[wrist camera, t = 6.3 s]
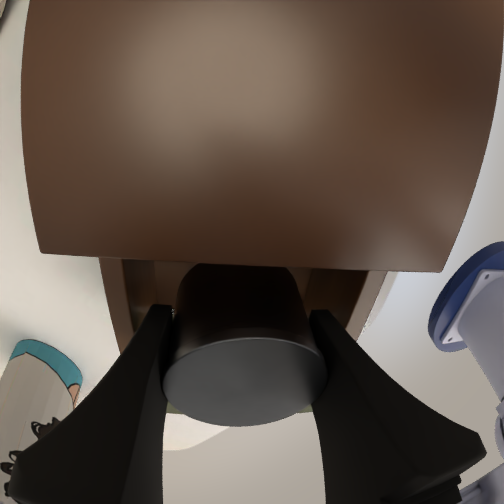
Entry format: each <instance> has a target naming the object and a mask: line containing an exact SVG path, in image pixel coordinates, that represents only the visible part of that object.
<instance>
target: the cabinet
mask: <svg viewBox="0 0 504 504" xmlns="http://www.w3.org/2000/svg"><path fill="white" fill-rule="evenodd" d="M503 36H504V0H30V3H29V8H28V14H27V20H26V27H25V35H24V44H23V55H22V71H21V127H22V143H23V155H24V165H25V173H26V181H27V188H28V194H29V201H30V206H31V212H32V217H33V222H34V227H35V232H36V236H37V240H38V245H39V249H40V252H41V253H43V254H57V255H72V256H87V257H103V258H119V259H135V260H152V261H170V262H188V263H207V264H227V265H247V266H269V267H292V268H316V269H342V270H370V271H401V272H436V273H440V272H442V270H443V268H444V266H445V264H446V261H447V259H448V257H449V255H450V252H451V250H452V247H453V245H454V243H455V241H456V238H457V236H458V233H459V231H460V228H461V226H462V223H463V220H464V218H465V215H466V212H467V209H468V207H469V204H470V201H471V198H472V195H473V192H474V189H475V186H476V182H477V179H478V176H479V173H480V169H481V165H482V162H483V159H484V155H485V151H486V147H487V143H488V139H489V134H490V130H491V126H492V121H493V117H494V111H495V106H496V100H497V94H498V88H499V81H500V73H501V64H502V53H503V38H504V37H503Z"/></svg>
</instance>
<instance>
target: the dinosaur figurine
mask: <svg viewBox="0 0 504 504" xmlns="http://www.w3.org/2000/svg"><path fill="white" fill-rule="evenodd" d="M5 2H6V0H0V18H1V16H2V13H3V11H4V7H5Z"/></svg>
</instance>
